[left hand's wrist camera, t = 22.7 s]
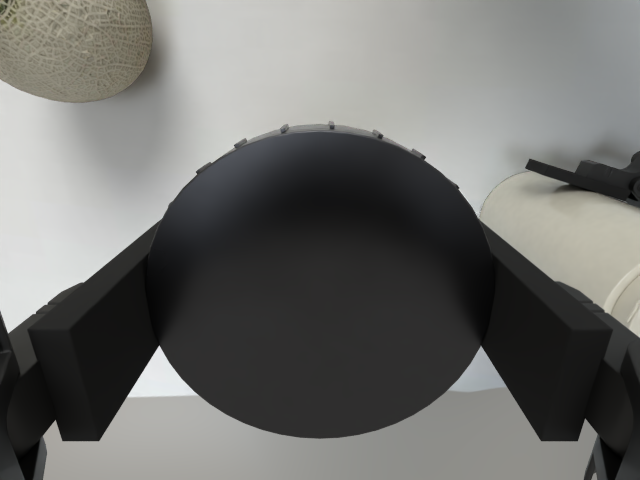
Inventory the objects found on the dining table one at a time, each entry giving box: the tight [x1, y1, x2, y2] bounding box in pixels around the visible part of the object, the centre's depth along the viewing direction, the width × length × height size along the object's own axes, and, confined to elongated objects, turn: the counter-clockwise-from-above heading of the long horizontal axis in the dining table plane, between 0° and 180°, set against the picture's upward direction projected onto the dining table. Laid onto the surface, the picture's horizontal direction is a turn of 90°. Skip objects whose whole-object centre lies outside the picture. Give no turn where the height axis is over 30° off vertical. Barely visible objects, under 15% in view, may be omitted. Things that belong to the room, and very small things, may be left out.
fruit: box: [0, 0, 153, 103], centre depth 24 cm, size 10×12×15 cm
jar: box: [480, 171, 640, 337], centre depth 28 cm, size 8×8×18 cm
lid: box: [145, 121, 495, 439], centre depth 11 cm, size 9×9×2 cm
